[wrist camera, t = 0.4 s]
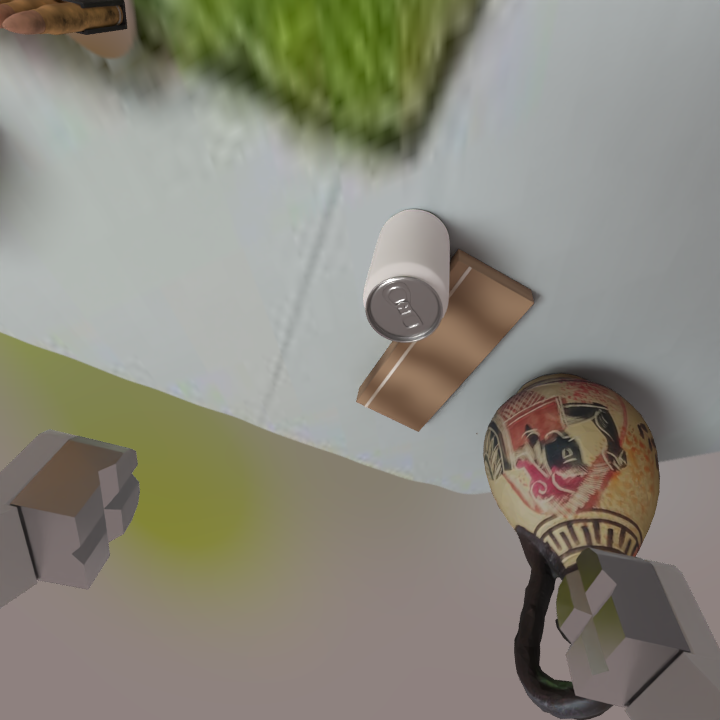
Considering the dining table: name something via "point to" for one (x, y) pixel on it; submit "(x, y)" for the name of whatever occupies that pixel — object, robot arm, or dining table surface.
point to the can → (408, 277)
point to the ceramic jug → (568, 500)
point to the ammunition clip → (62, 16)
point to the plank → (446, 344)
